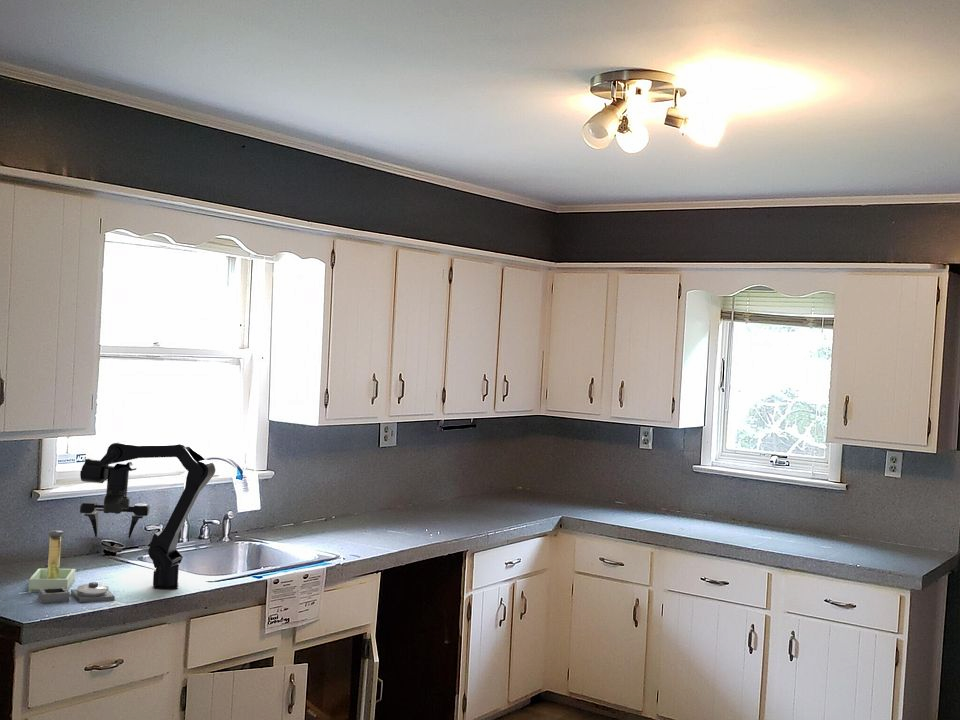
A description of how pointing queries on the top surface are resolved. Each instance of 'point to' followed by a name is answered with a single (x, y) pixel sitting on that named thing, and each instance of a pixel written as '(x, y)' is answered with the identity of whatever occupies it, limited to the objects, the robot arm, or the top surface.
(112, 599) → the grey low boxy pieces
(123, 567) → the top surface
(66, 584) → the tray
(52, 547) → the lock pin
